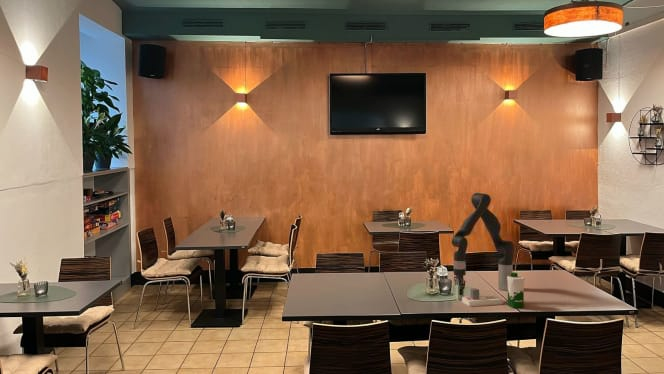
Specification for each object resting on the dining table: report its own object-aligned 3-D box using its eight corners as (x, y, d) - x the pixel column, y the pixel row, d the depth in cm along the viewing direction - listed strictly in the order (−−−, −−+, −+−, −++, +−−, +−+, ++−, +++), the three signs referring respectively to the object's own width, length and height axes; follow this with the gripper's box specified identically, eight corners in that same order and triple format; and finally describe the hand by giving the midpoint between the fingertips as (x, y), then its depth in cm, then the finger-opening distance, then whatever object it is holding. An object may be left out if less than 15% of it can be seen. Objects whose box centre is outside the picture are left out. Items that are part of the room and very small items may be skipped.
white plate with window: (495, 299, 357) (495, 285, 357) (503, 304, 346) (503, 289, 346) (462, 301, 354) (462, 287, 353) (469, 306, 343) (469, 291, 342)
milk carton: (518, 304, 346) (518, 271, 345) (526, 308, 337) (526, 275, 336) (505, 305, 344) (505, 272, 343) (513, 309, 336) (513, 275, 334)
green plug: (461, 298, 363) (461, 284, 362) (463, 299, 359) (463, 285, 358) (455, 298, 362) (455, 284, 361) (457, 300, 358) (457, 286, 358)
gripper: (469, 269, 353) (469, 296, 354) (460, 265, 367) (461, 291, 368) (458, 270, 352) (458, 297, 353) (449, 265, 366) (450, 291, 367)
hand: (459, 294), depth 360 cm, fingers closed on green plug, 4 cm apart
